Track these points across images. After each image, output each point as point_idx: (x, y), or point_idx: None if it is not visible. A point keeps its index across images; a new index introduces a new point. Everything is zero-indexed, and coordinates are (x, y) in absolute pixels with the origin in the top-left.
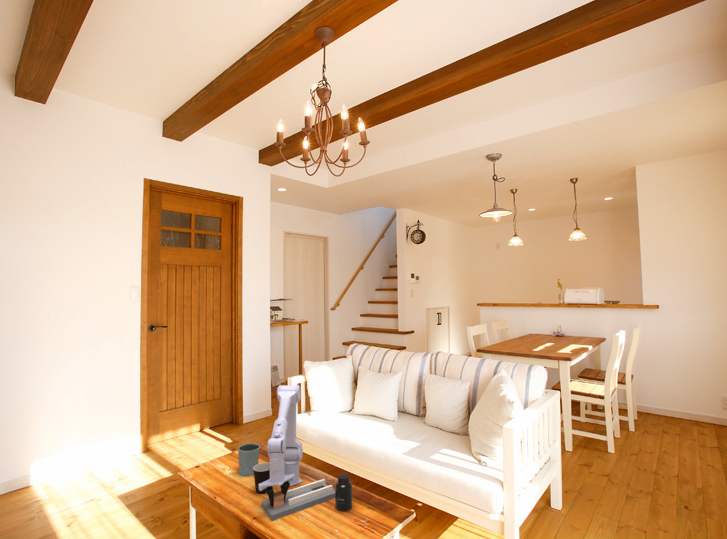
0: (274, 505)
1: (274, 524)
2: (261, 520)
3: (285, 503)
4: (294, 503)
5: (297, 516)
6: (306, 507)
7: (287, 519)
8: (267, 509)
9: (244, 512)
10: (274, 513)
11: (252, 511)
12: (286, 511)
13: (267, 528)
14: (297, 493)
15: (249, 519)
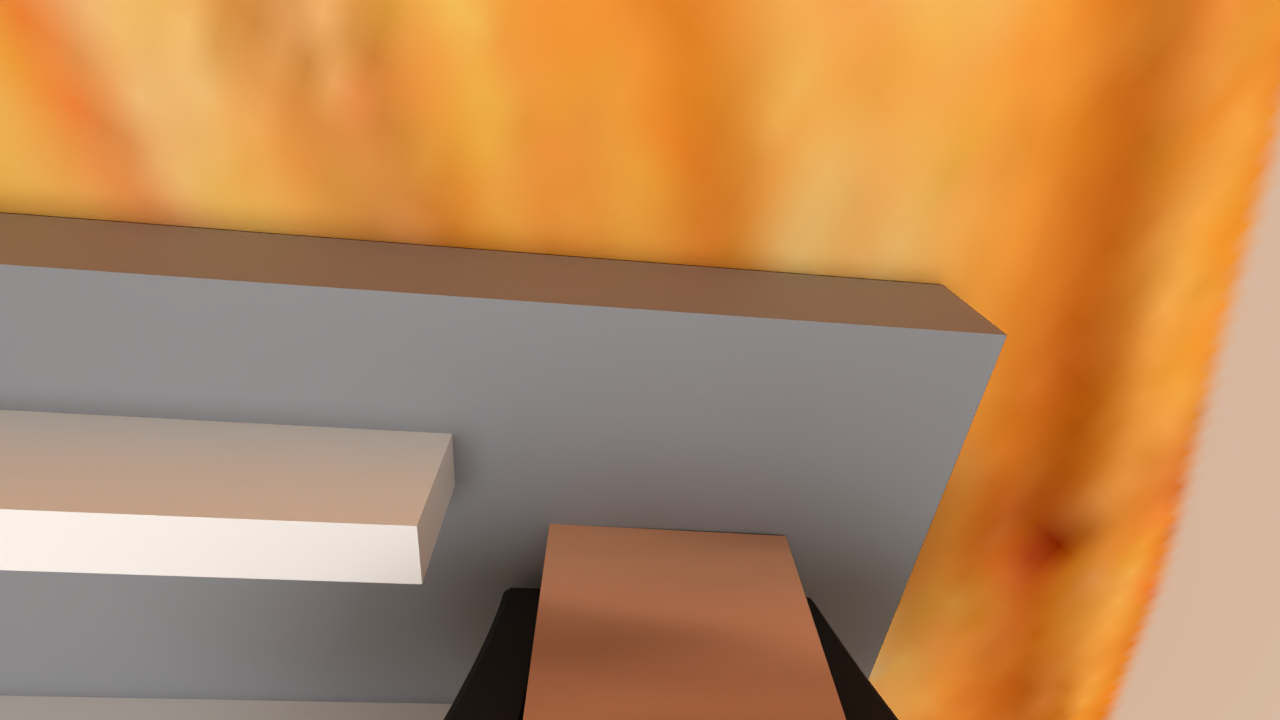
0: (796, 583)
1: (988, 122)
2: (1045, 423)
3: (493, 554)
4: (293, 433)
5: (381, 36)
6: (38, 224)
7: (654, 97)
8: (904, 577)
9: (1042, 716)
10: (904, 368)
11: (957, 685)
12: (598, 294)
13: (1192, 84)
14: (122, 703)
15: (1134, 555)
